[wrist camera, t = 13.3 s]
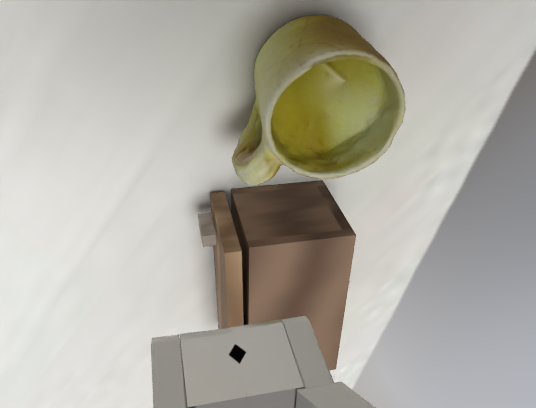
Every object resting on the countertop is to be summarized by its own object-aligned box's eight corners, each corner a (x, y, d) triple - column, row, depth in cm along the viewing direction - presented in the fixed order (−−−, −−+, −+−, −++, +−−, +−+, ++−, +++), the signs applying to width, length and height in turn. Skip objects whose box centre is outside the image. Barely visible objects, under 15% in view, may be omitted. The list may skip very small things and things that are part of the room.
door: (225, 191, 42) (243, 250, 36) (231, 325, 51) (246, 392, 44) (195, 194, 42) (207, 255, 35) (206, 329, 50) (217, 397, 44)
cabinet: (322, 180, 44) (355, 235, 38) (310, 306, 52) (335, 369, 46) (231, 189, 42) (249, 247, 36) (233, 317, 51) (248, 384, 44)
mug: (353, -44, 33) (401, 57, 27) (382, 67, 41) (424, 162, 35) (185, 34, 35) (197, 141, 30) (244, 124, 44) (262, 220, 38)
